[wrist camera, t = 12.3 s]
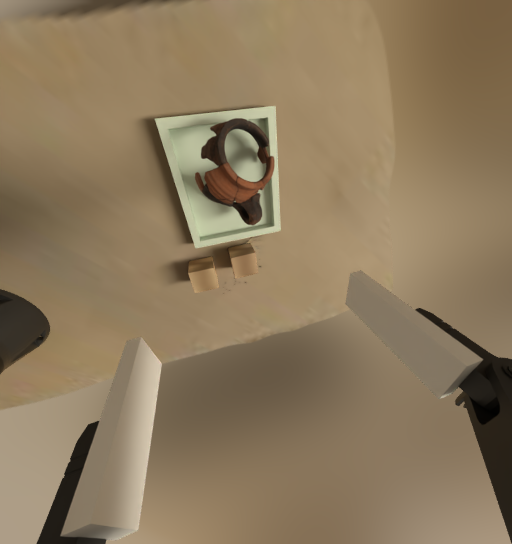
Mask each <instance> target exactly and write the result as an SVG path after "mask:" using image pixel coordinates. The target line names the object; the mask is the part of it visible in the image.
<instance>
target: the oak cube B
mask: <svg viewBox="0 0 512 544" xmlns="http://www.w3.org/2000/svg"><path fill="white" fill-rule="evenodd" d="M228 251H229V255H230V260H231V264H232V268H233V272H234V275H235V278H236V279H237V278H241V277H245V276H249V275H253V274H257V273H258V267H257V260H256V253H255V251H254V249H253V247H252V245H251V244H250V243H247V244H243V245H238V246H234V247H230V248H228Z"/></svg>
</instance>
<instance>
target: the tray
mask: <svg viewBox="0 0 512 544" xmlns="http://www.w3.org/2000/svg"><path fill="white" fill-rule="evenodd" d="M234 118H243V119H246V120H247V121H251V122H253V123H255V124H256V125H257V126H258V127H260V129H261V130H262V131H263V132H264V133H265V134H266V136H267V137H268V139H269V145H268V147H266V149H267V152H268V155H269V157H270V156H274V160H275V167H274V172H273V175H272V177H271V179H270V180H269V182H268V183H267V184H266V185H265V187H264V189H263V190H259V191H258V193H260V194H261V196H260V205H261V208H262V218H261V220H260V221H259V222H258V223H256V224H255V225H248V224H246V223H245V222H244V221H243V220H242V218H241V216H240V215H239V213H238V211H237V210H236V209H235V208H233V207H228V206H226V205H222V204H220V203H216V202H213V201H211V200H210V199H208V198H207V197H206V196H205V195H204V194H203V193H202V192H201V190H200V189H199V187H198V185H197V183H196V180H195V173H197V172H199V173H200V176H201V179H202V181H203V184H204V186H205V184H206V181H205V179H204V175H205V172H207V171H210V170H213V169H215V168H217V167H218V166H217V165H216V164H215V163H214V162H212V161H210V160H209V159H207V158H206V159H202V158H201V148H202V147H203V146H204V145H205V144H206V142H207V141H208V139H210V138H211V137H213V136H216V134H215V133H214V132H213V131H211V130H210V127H212V126H214V125H216V124H219V123H223V122H226V121H229V120H231V119H234ZM155 121H156V125H157V128H158V131H159V134H160V137H161V140H162V144H163V147H164V150H165V153H166V156H167V159H168V163H169V166H170V169H171V172H172V175H173V178H174V182H175V185H176V188H177V191H178V194H179V197H180V201H181V204H182V207H183V210H184V213H185V216H186V220H187V223H188V226H189V229H190V232H191V235H192V239H193V242H194V245H195V248H200V247H205V246H210V245H215V244H219V243H224V242H229V241H234V240H239V239H244V238H248V237H253V236H258V235H263V234H268V233H272V232H277V231H281V228H280V204H279V180H278V156H277V132H276V108H275V106H269V107H260V108H251V109H241V110H232V111H223V112H213V113H204V114H195V115H185V116H176V117H167V118H158V119H155ZM258 149H259V146H258V144H257V142H256V141H255V139H254V138H253V137H252V135H251V134H249V133H248V132H246V131H244V130H240V129H234V130H232V131H230V132H229V133H228V134H227V136H226V139H225V154H226V158H227V162H228V163H229V164H230V166H231V168H232V169H233V170H234V172H235V173H236V174H237V175H238V176H239V177H241V178H242V179H244V180H247V181H250V182H257V181H259V180H260V179H262V178H263V176H264V174H265V171H266V163H265V164H262V163H261V161H260V160H259V158H258V156H257V152H258ZM234 202H235V201H234Z"/></svg>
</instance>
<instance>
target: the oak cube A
mask: <svg viewBox="0 0 512 544" xmlns="http://www.w3.org/2000/svg"><path fill="white" fill-rule="evenodd" d="M188 274H189V277H190V280H191V283H192V286H193V289H194V292H195V293H198V292H202V291H207V290H211V289H215V288H219V285H218V278H217V273H216V269H215V265H214V261H213V257H208V258H203V259H198V260H193V261H189V268H188Z"/></svg>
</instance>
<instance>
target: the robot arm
mask: <svg viewBox="0 0 512 544" xmlns="http://www.w3.org/2000/svg"><path fill="white" fill-rule="evenodd" d="M346 305H347V306H348V307H349V308H350V309H351V310H352V311H353V312H354V313H355V314H356V315H357V316H358V317H359V318H360V319H361V320H362V321H363V322H364V323H365V324H366V325H367V326H368V328H370V329H371V330H372V332H373V333H374V334H375V335H376V336H377V337H378V338H379V339H380V340H381V341H382V342H383V343H384V344H385V345H386V346H387V347H388V348H389V349H390V350H391V351H392V352H393V353H394V354H395V355H396V356H397V357H398V358H399V359H400V360H401V361H402V362H403V363H404V364H405V365H406V366H407V367H408V368H409V369H410V370H411V371H412V372H413V373H414V374H415V375H416V376H417V377H418V378H419V379H420V381H422V383H424V385H425V386H426V387H427V388H428V389H429V390H430V391H431V392H432V393H433V394H434V395H435V396H436V397H437V398H438V399H440V398H443V397H445V396H447V395H450V394H452V393H453V392H454V391H455V390H456V389H457V388H458V387H460V388H461V389H462V390H463V392H462V393H461V394H460V395H459V396H458V397H457V399H456V401H455V402H456V405H457V406H459V405H460V404H461V403H462V402H465V404H464V408H467V410H468V414H469V417H470V420H471V423H472V426H473V429H474V432H475V435H476V438H477V441H478V444H479V447H480V450H481V453H482V456H483V459H484V462H485V465H486V468H487V471H488V474H489V477H490V479H491V483H492V486H493V488H494V492H495V495H496V498H497V501H498V504H499V507H500V510H501V513H502V516H503V519H504V522H505V525H506V528H507V531H508V534H509V537H510V540H511V543H512V359H508V358H498V357H496V356H494V355H492V354H491V353H489V352H488V351H486V350H485V349H483V348H482V347H480V346H479V345H477V344H476V343H474V342H473V341H471V340H470V339H469V338H467V337H466V336H464V335H463V334H461V333H460V332H459V331H457V330H456V329H453V328H452V327H451V326H450V325H448V324H447V323H444V322H443V320H441V319H440V318H438V317H437V316H435V315H434V314H432V313H430V312H428V311H426V310H423V309H421V308H418V309H416V310H414V309H413V308H412V307H410V306H409V305H408V304H406V303H405V302H403V301H402V300H401V299H399V298H398V297H397V296H395V295H394V294H392V293H391V292H390V291H388V290H387V289H386V288H384V287H383V286H381V285H380V284H379V283H377V282H376V281H375V280H373V279H372V278H370V277H369V276H368V275H366V274H365V273H364V272H362V271H361V270H360V271H357V272H353V273H350V279H349V285H348V291H347V298H346ZM49 332H50V325H49V322H48V320H47V318H46V316H45V315H44V314H43V313H42V312H41V311H40V310H39V309H38V308H37V307H36V306H35V305H33V304H32V303H30V302H29V301H27V300H25V299H23V298H21V297H19V296H17V295H15V294H13V293H10V292H7V291H4V290H1V289H0V374H1V373H2V372H3V371H4V370H5V369H6V368H8V367H9V366H11V365H12V364H13V363H15V362H16V361H18V360H19V359H21V358H22V357H24V356H25V355H27V354H28V353H30V352H31V351H33V350H34V349H36V348H37V347H39V346H40V345H41V344H42V343H43V342H44V341H45V340H46V339H47V337H48V335H49ZM39 336H43V337H39ZM161 366H162V364H161V362H160V361H159V360H158V358H157V357H156V356H155V354H154V353H153V352H152V350H151V349H150V348H149V346H148V345H147V344H146V342H145V341H144V340H143V338H142V337H138V338H135V339H132V340H129V341H127V342H126V345H125V348H124V350H123V353H122V356H121V359H120V362H119V365H118V368H117V371H116V374H115V377H114V380H113V383H112V386H111V389H110V392H109V395H108V397H107V400H106V403H105V407H104V409H103V412H102V415H101V418H100V421H97V422H95V423H91V424H88V426H87V427H86V429H85V430H84V432H83V433H82V435H81V436H80V438H79V439H78V441H77V443H76V445H75V448H74V451H73V453H72V456H71V458H70V460H71V461H70V462H69V463H68V466H67V468H66V471H65V473H64V475H65V476H64V478H63V479H62V481H61V484H60V486H59V489H58V491H57V494H56V497H55V499H54V501H53V504H52V506H51V509H50V512H49V514H48V517H47V519H46V522H45V524H44V527H43V529H42V532H41V534H40V537H39V540H38V542H37V544H105V543H106V540H117V539H120V538H122V537H124V536H127V535H129V534H131V533H133V532H136V531H138V527H139V521H140V514H141V507H142V499H143V493H144V486H145V478H146V471H147V464H148V457H149V450H150V443H151V436H152V428H153V421H154V414H155V408H156V401H157V393H158V387H159V379H160V373H161Z"/></svg>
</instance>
